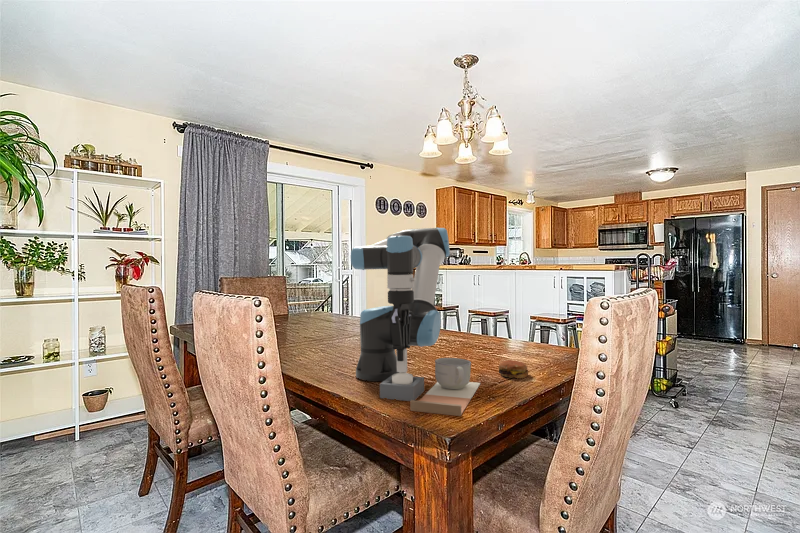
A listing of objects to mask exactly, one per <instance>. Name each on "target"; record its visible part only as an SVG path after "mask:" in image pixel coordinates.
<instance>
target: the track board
mask: <svg viewBox="0 0 800 533" xmlns="http://www.w3.org/2000/svg"><path fill="white" fill-rule="evenodd" d="M480 385H481V382H475V381H469V383H468V384H467V385H466V386H464V387H463V388H462V389H447V388H444V387H442V386H441V385H440V384H439V383H438V382H437V381H436V383H435V384H434V385H433V386H432V387H431V388H430V389H429V390H428V391H427V392H426V393H424V394H423V396H422V397H421V398H420V399H418V400H417V399H416V400H411V401H409V402H410V404H409V406H410V411H412V412H420V413H421V412H422V413H428V414H429V413H430V414H439V415H447V416H457V417H458V416H459V417H461V416H462V414H463V413H464V411H465V409H466V408H467V406H468V405H469V403H470V401H471V400H472V398H473V396H474V395H475V394H476V391H477V390H478V389H479V387H480Z"/></svg>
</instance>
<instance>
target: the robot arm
mask: <svg viewBox="0 0 800 533" xmlns="http://www.w3.org/2000/svg"><path fill="white" fill-rule="evenodd" d="M450 255H451V251H450V242H449V234H448V230H447V229H446V228H445V227H432V228H431V227H430V228H429V227H428V228H426V227H425V228H408V229H407V228H406V229H404V230H400V231H397V232H394V233H392V234H389V235H388V236H386V238H385V239H383V240H380V241H378V242H375V243H373V244H369V245H361V246H360V245H359V246H354V247H353V248H352V249H351V251H350V264H351V266H352V268H353V269H355V270H362V271H365V270H387V275H386V277H387V278H386V280H387V282H386V283H387V285H386V286H387V287H386V288H387V289H388V291H387V303H388V304H391V305H382V306H375V307H370V308H367V309H363V310H362V311H361V312H360V315H359V316H360V317H359V318H360V319H359V329H360V330H359V331H360V332H359V337H360V338H359V339H360V343H359V344H360V355H359V358H358V360H357V365H356V368H355V377H356V378H357V379H358V378H359V380H361V379H362V381H366V380H367V381H368V382H383V381H384V380H386V379H387V378H389V377H390V376H392V375H393V374H397V373H399V372H406V373H408V349H410V348H411V347H419V348H420V347H432V346H433V345H435V344H436V343H437V341H438V339H439V336H440V333H441V322H442V321H441V320H442V319H441V313H440V311H438V309H437V307H436V306H435V305H434V304H435V297H436V291H437V285H438V280H439V278H438V277H439V270H440V265H441V264H442V263H443V262H444V260H445V258H447V257H450ZM414 269H415V271H414Z"/></svg>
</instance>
